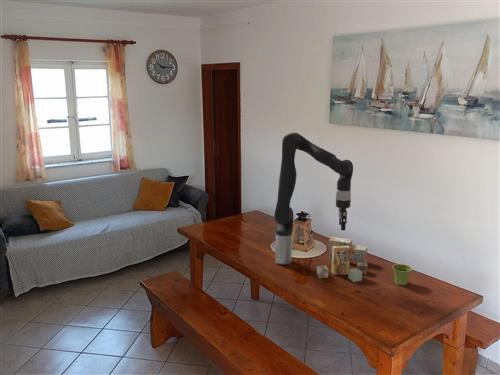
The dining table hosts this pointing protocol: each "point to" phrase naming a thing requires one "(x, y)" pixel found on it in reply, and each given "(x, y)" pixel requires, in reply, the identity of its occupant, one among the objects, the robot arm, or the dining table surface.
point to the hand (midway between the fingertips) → (342, 227)
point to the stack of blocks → (355, 251)
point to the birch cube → (322, 271)
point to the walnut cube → (362, 267)
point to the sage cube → (355, 275)
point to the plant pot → (401, 273)
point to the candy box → (340, 260)
